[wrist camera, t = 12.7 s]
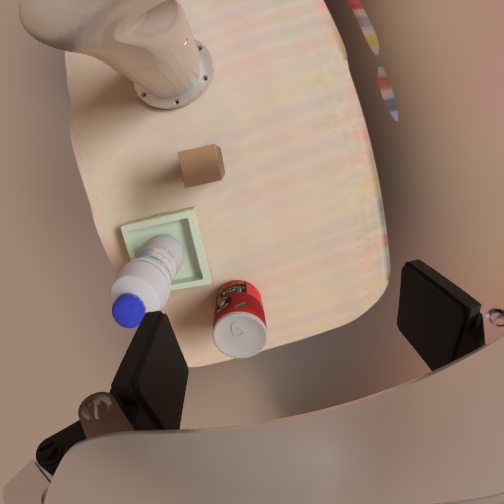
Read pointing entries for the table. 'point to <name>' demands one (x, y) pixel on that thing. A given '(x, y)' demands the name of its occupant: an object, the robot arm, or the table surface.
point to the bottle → (146, 280)
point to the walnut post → (201, 165)
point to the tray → (181, 228)
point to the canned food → (239, 320)
